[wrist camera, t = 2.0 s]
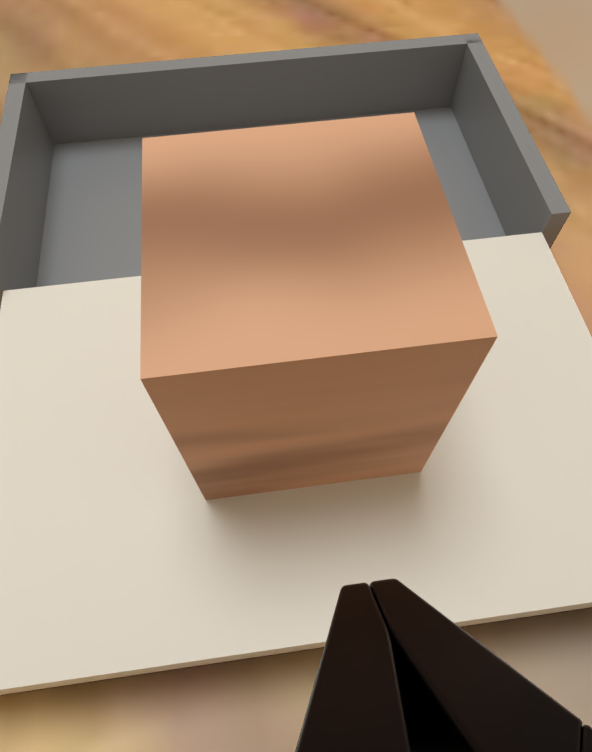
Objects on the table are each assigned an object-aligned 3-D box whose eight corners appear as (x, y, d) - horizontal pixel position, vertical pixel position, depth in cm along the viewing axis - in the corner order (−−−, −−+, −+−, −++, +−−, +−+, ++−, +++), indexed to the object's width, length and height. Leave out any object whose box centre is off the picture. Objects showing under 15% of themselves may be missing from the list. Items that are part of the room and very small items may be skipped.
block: (421, 471, 18) (497, 336, 11) (205, 500, 17) (140, 378, 10) (377, 300, 21) (414, 112, 14) (196, 320, 21) (142, 138, 14)
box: (533, 276, 25) (570, 212, 22) (17, 334, 24) (-31, 276, 21) (458, 104, 32) (477, 33, 28) (44, 144, 30) (10, 74, 27)
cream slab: (651, 598, 19) (708, 585, 16) (-9, 696, 17) (-63, 699, 15) (517, 278, 25) (541, 232, 23) (35, 333, 24) (3, 290, 22)
